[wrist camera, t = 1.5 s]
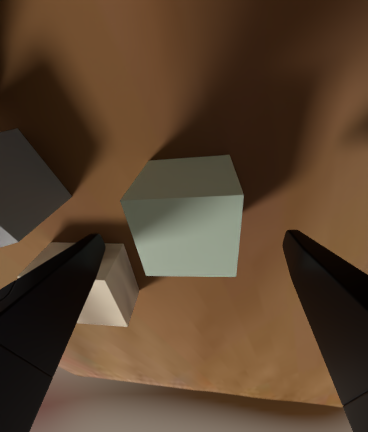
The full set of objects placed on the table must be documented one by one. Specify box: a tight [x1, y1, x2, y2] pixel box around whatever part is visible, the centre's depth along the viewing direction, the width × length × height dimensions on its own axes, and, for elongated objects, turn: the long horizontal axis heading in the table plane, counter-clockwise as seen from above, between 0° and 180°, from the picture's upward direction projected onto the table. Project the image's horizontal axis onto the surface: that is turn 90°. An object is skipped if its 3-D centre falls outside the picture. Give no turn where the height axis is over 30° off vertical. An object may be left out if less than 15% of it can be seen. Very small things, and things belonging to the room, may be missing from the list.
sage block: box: [120, 155, 244, 277], centre depth 11 cm, size 5×5×5 cm
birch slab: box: [17, 242, 139, 327], centre depth 17 cm, size 7×7×4 cm
